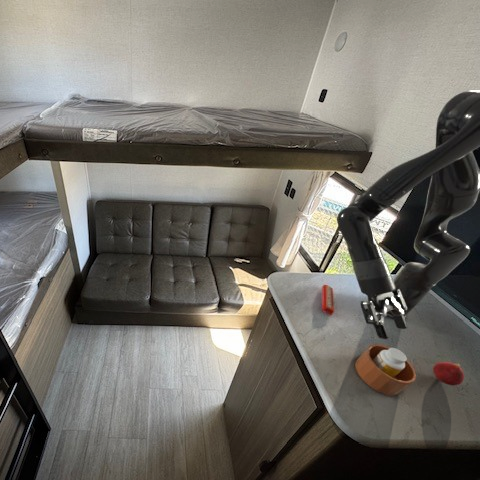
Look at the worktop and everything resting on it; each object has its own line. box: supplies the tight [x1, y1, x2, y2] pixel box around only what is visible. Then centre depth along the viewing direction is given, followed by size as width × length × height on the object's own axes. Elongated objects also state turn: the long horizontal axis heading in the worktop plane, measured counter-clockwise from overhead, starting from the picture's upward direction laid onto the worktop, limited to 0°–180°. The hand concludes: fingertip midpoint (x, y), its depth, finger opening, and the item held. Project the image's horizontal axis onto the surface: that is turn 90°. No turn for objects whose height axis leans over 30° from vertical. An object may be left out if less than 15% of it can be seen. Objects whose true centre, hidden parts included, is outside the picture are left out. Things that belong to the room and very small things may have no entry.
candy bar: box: [321, 284, 335, 316], centre depth 97 cm, size 16×4×3 cm, turn 152°
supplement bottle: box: [372, 347, 408, 378], centre depth 71 cm, size 6×6×10 cm
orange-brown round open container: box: [354, 343, 417, 396], centre depth 72 cm, size 11×11×7 cm
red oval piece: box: [432, 361, 465, 386], centre depth 72 cm, size 6×6×8 cm
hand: (393, 333), depth 68 cm, fingers open, 8 cm apart
